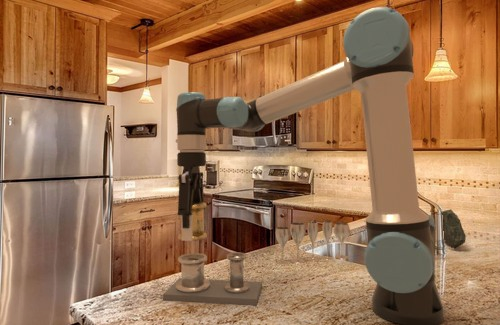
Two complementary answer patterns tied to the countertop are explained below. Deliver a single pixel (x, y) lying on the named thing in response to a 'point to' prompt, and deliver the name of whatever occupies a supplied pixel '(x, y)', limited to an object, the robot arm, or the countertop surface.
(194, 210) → the gold flared knob
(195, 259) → the wide pipe stub
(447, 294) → the countertop surface
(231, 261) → the narrow pipe stub
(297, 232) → the goblet set
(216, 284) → the plate
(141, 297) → the countertop surface
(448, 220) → the rock
